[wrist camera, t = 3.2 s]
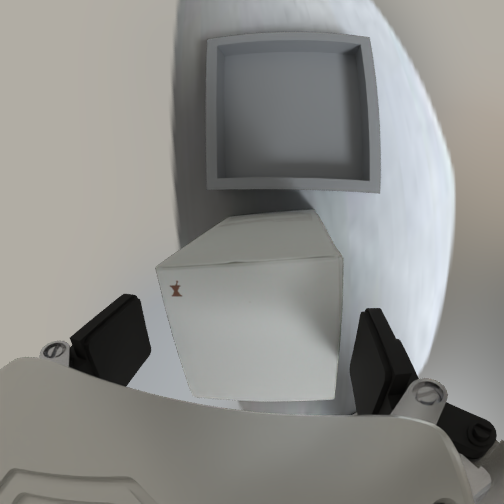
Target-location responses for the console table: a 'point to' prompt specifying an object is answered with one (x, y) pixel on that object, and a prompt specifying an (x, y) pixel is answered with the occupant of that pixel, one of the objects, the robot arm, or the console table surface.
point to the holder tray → (292, 112)
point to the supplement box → (257, 308)
